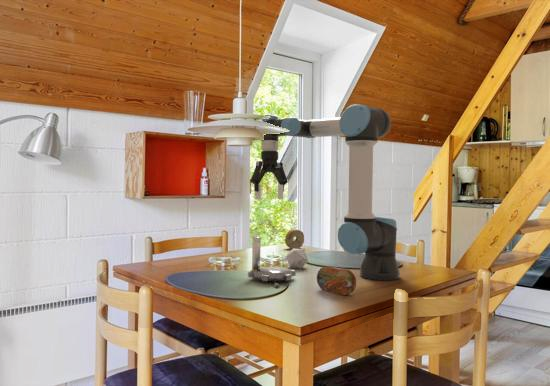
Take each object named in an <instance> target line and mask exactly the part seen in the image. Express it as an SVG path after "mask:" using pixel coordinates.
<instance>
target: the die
mask: <svg viewBox="0 0 550 386" xmlns="http://www.w3.org/2000/svg"><path fill="white" fill-rule="evenodd" d="M306 253H307V252H306V251H305V249H304V248H298V249H295V248H293V249H292V248H291V250H290V251H289V252H288V253H287V254H286V256H285V258H286V260H287V264H288V267H289V269H290V268H292V269H300V270H301V269H302V268H304V266H305V265H306V264H307V263H308V262H309V259H308V257H307V254H306Z"/></svg>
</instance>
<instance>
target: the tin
mask: <svg viewBox="0 0 550 386" xmlns="http://www.w3.org/2000/svg"><path fill="white" fill-rule="evenodd" d="M316 282H317V285H318V287H319V288H320V289H321V291H324V292H327V293H331V294H335V295H339V296H347V295H350V294H352V293H353V292H354V291H355V290H356V288H357V279H356V276H355V274H354V273H353V272H352V271H351V270H349V269H346V268H339V267H334V266H322V267H321V268H319V270H318V271H317V274H316Z"/></svg>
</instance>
